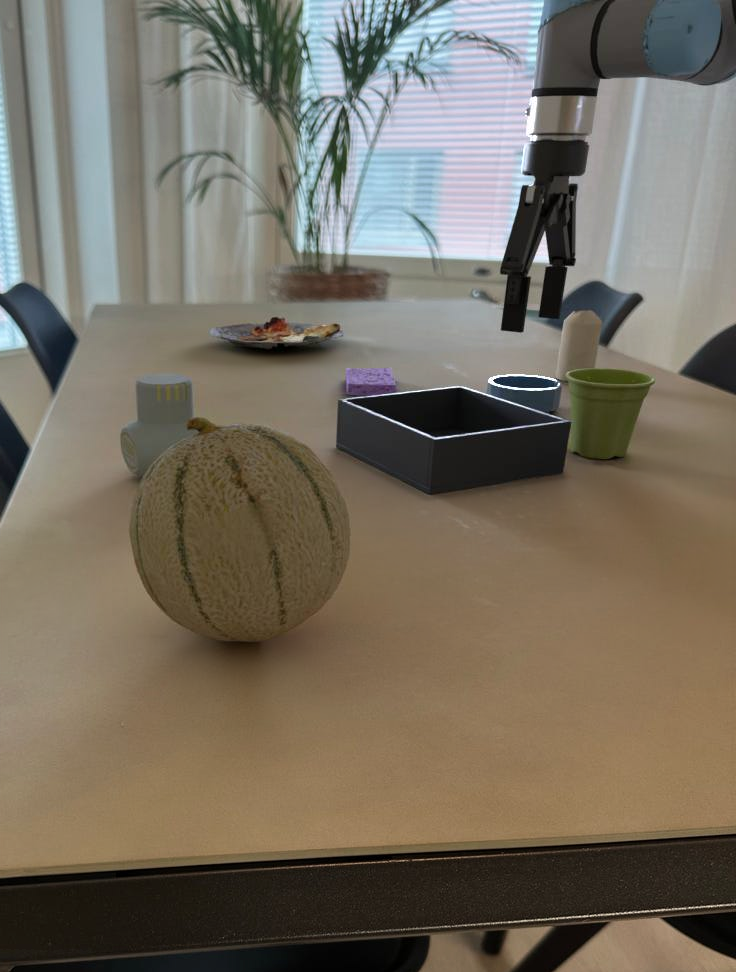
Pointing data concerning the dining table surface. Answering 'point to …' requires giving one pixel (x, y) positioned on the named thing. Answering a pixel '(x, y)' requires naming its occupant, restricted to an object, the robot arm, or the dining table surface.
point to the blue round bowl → (527, 391)
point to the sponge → (370, 381)
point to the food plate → (276, 333)
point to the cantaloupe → (239, 532)
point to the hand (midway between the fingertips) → (531, 324)
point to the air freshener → (157, 419)
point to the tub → (451, 438)
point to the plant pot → (605, 409)
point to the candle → (578, 342)
